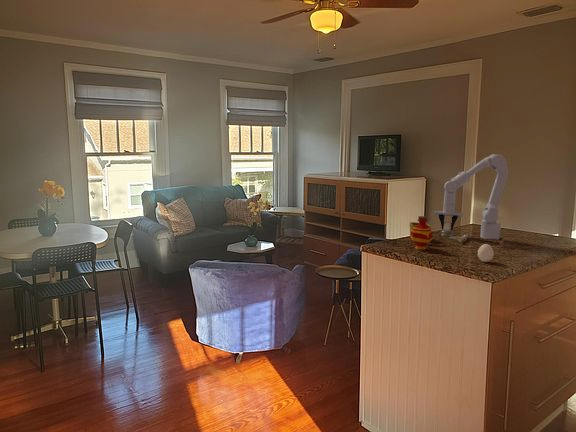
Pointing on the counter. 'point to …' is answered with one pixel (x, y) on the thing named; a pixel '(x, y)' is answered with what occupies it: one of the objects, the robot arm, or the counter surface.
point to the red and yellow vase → (421, 233)
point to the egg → (485, 253)
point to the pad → (446, 234)
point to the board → (457, 237)
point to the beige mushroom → (447, 228)
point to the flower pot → (413, 224)
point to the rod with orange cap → (462, 237)
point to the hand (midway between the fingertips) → (447, 229)
